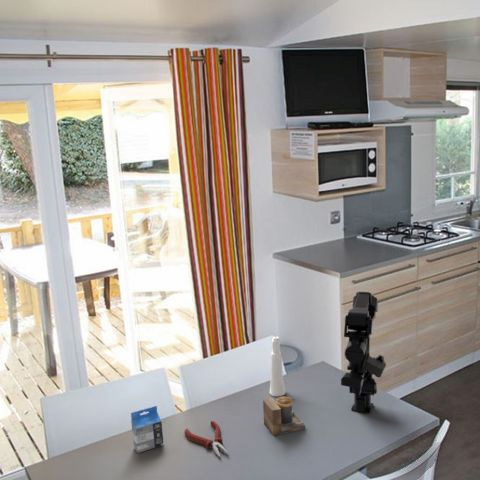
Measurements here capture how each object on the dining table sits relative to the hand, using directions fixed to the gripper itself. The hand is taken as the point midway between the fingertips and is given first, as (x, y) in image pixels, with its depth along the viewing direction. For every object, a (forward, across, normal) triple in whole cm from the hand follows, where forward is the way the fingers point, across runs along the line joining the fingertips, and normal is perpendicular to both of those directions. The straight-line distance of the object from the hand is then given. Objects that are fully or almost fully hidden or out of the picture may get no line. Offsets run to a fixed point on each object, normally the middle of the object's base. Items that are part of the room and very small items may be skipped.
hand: (358, 395), depth 187 cm
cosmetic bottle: (+12, +14, +34) cm, 39 cm away
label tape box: (+12, -34, +59) cm, 69 cm away
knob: (+11, -7, +23) cm, 26 cm away
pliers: (+13, -25, +43) cm, 51 cm away
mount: (+12, -8, +24) cm, 28 cm away
